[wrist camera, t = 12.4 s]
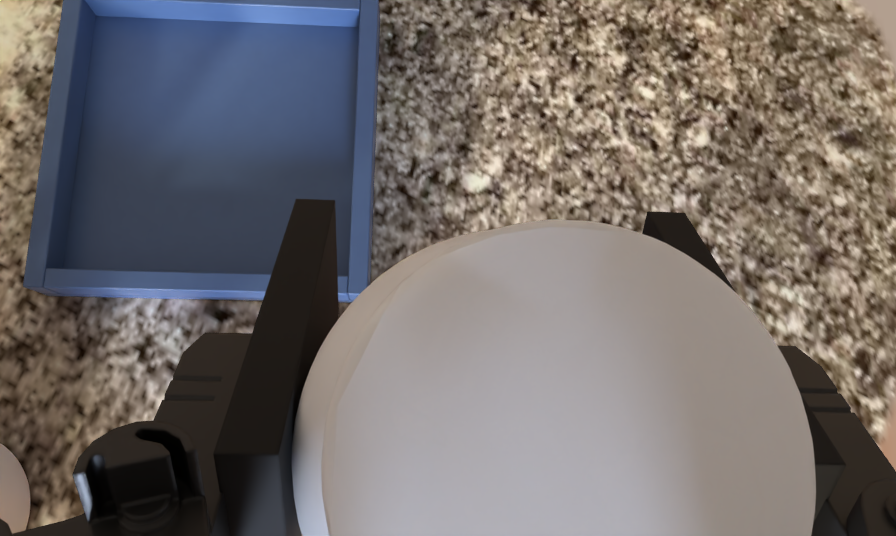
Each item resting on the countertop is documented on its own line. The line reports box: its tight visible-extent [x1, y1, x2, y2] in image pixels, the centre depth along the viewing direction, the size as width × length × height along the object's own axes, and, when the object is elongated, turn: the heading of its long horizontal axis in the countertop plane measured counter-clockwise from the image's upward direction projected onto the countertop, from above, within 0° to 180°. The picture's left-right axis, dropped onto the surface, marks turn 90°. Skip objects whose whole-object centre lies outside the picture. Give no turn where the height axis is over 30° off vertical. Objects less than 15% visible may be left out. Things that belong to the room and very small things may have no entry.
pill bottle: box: [291, 219, 816, 536], centre depth 12 cm, size 6×6×11 cm
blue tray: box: [23, 0, 380, 303], centre depth 31 cm, size 14×14×2 cm
